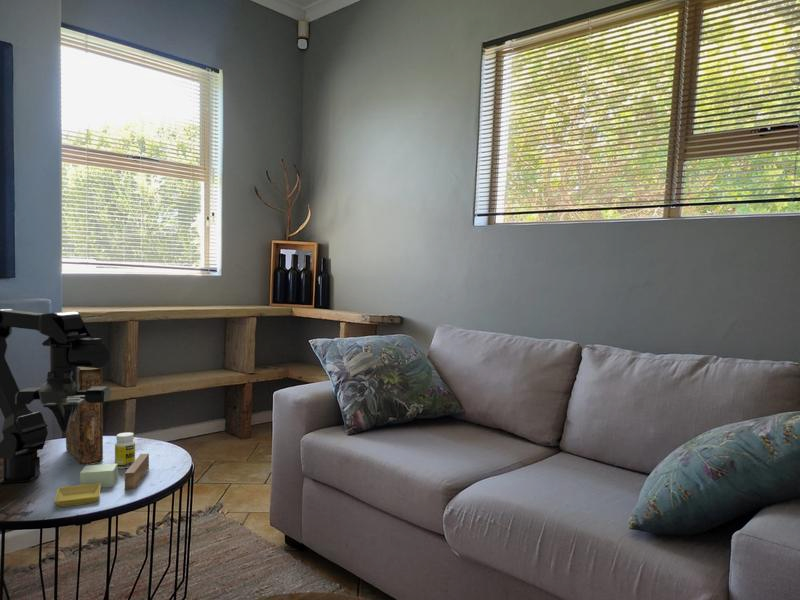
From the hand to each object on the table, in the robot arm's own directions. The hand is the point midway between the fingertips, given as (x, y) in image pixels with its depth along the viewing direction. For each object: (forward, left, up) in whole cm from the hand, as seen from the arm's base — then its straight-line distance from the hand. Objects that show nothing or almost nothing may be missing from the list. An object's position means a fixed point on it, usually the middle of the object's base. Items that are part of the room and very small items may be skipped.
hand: (64, 431), depth 133 cm
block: (+8, 0, -13) cm, 15 cm away
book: (-3, +22, -13) cm, 26 cm away
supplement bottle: (+10, +12, -13) cm, 20 cm away
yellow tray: (+6, -9, -14) cm, 17 cm away
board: (+16, +2, -13) cm, 20 cm away
